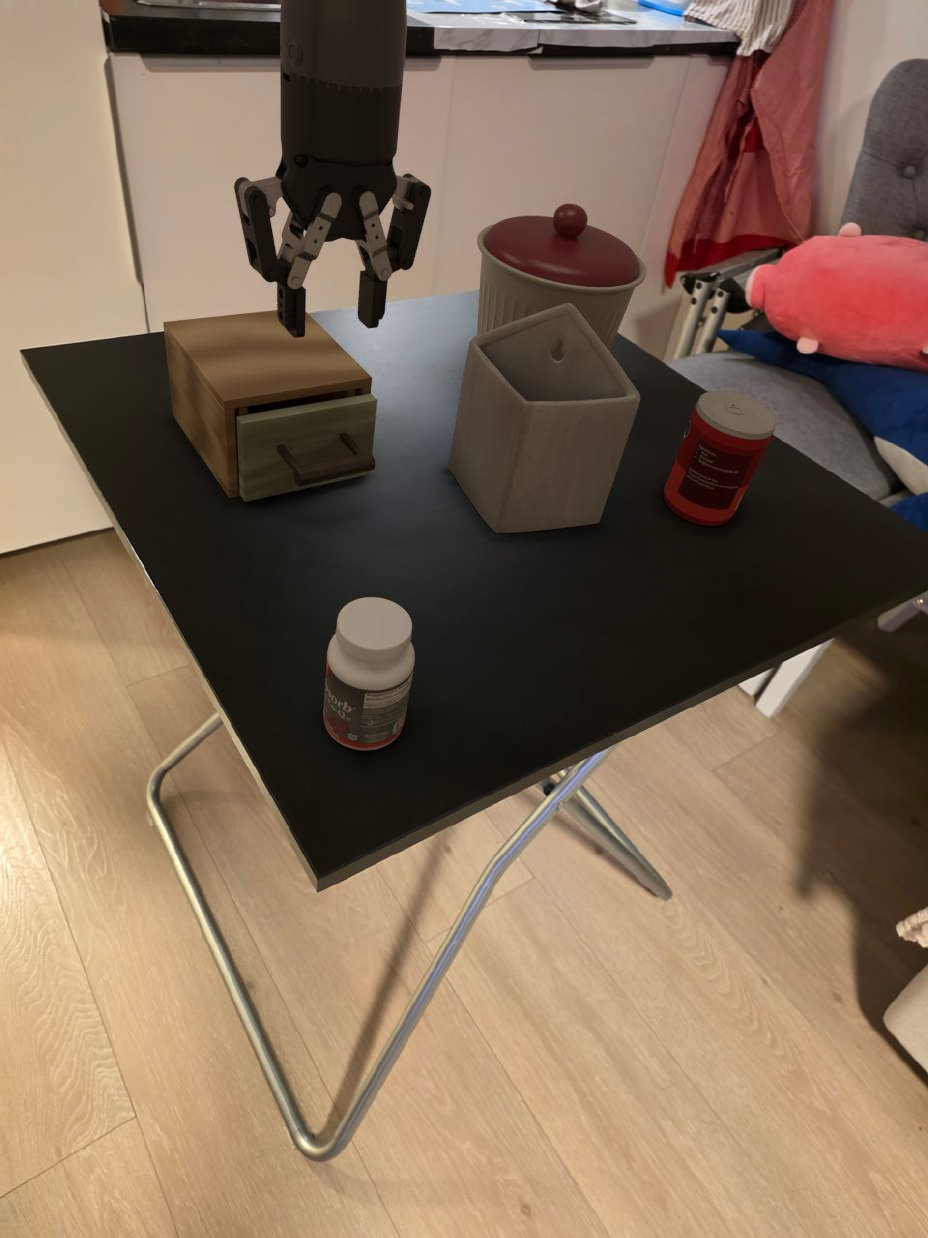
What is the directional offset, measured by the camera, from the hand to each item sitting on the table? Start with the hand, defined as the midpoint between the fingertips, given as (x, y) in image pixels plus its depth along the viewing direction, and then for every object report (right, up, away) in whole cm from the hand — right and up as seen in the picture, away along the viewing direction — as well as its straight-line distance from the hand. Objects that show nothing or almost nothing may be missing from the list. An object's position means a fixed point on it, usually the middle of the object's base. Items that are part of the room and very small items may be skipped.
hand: (331, 327), depth 61 cm
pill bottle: (+3, -30, -4) cm, 30 cm away
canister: (+18, +4, +34) cm, 39 cm away
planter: (+14, -12, +17) cm, 25 cm away
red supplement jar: (+34, -10, +23) cm, 42 cm away
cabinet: (-9, -5, +19) cm, 21 cm away
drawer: (-6, -7, +15) cm, 18 cm away
